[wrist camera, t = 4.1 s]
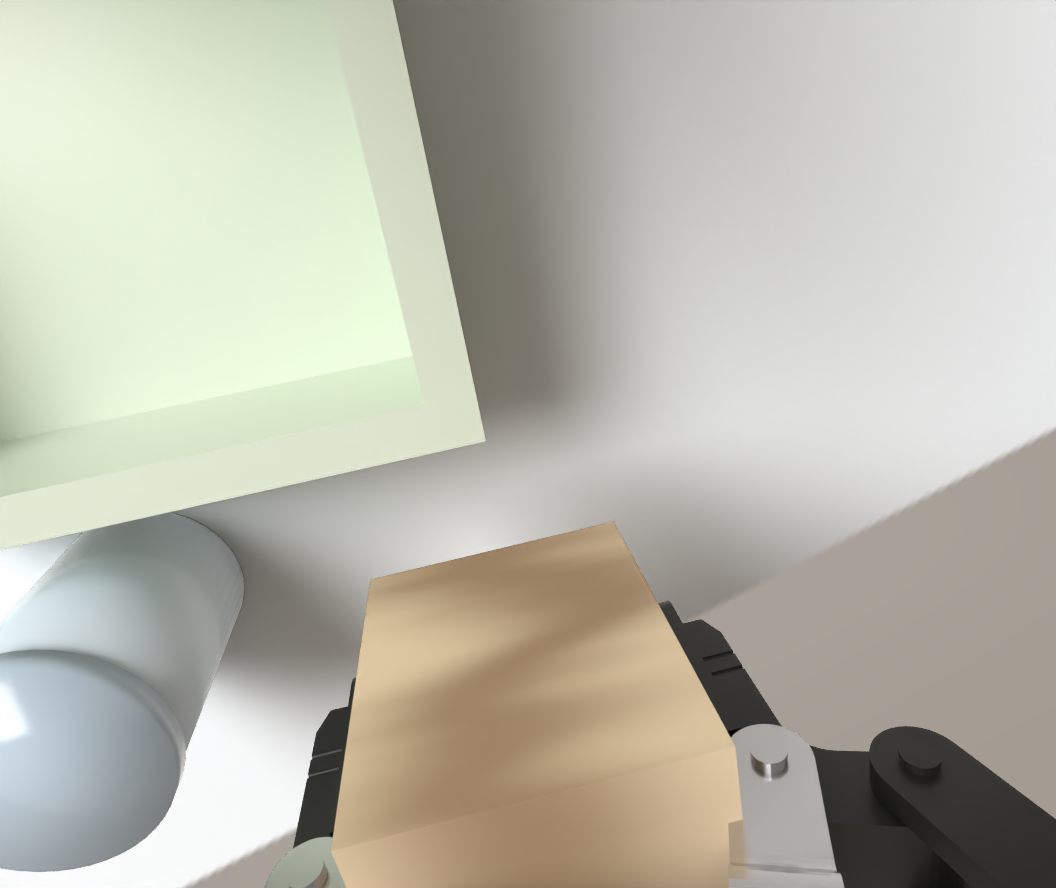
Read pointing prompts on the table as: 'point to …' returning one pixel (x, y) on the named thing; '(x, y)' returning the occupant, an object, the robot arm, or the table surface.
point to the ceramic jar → (108, 687)
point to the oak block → (531, 730)
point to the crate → (213, 258)
